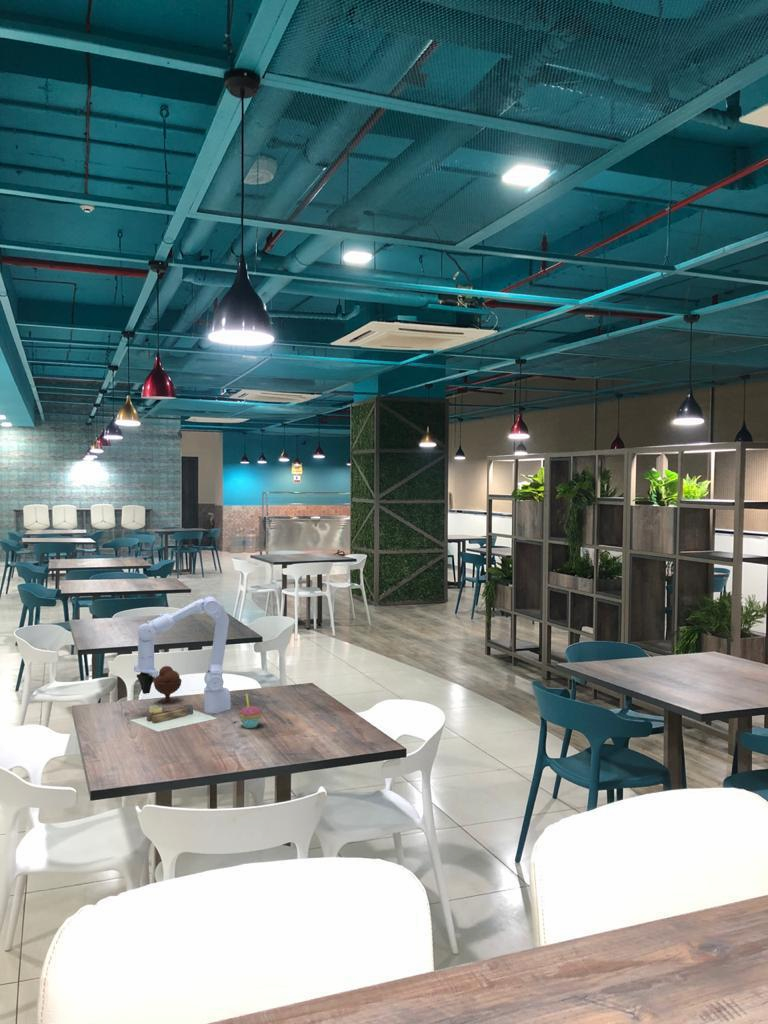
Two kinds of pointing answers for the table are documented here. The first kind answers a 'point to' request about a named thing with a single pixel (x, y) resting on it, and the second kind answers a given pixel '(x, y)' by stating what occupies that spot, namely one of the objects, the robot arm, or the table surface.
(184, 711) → the tong jaw
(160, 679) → the ice cream bowl
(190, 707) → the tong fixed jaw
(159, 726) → the serving board
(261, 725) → the table surface
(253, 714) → the cupcake
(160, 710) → the pale yellow rectangular block
